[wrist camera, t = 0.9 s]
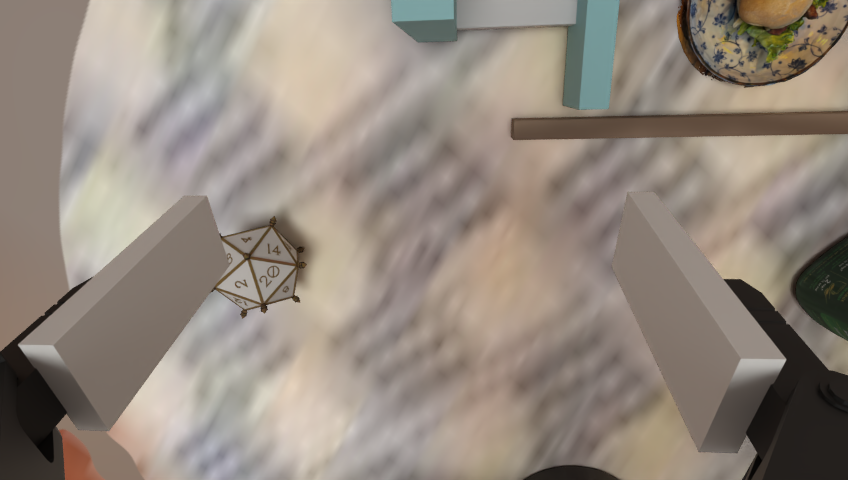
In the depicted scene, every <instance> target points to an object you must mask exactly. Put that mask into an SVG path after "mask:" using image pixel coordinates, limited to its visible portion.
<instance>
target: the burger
mask: <svg viewBox="0 0 848 480" xmlns="http://www.w3.org/2000/svg"><path fill="white" fill-rule="evenodd" d="M682 5H683V6H682ZM682 5H681V6H680V7H681V10H679V11H678V14H677V27H678V34H679V39H680V42H681V45H682V48H683V51H684V53H685V54H686V56H687V58H688V59H689V61H690V62H691V64H692V65H693V66H694V67H695V68H696V69H697V70H698V71H699V70H700V71H699V72H700V73H701V74H702V75H703V73H702V72H705V73H704V74H705V76H707V75H708V76H711V75H712V74H713V76H714V77H713V76H711V77H713V78H715V79H717V80H719V79H720V80H721V79H722V80H721V81H723V80H724V81H727V82H730V83H732V84H738V85H744V86H745V87H754V86H761V85H762V86H765V85H772V84H775V83H778V82H785V81H787V80H790V79H792V78H794V77H796V76H798V75H800V74H802V73H804V72H806V71H807V70H808V69H809V68H811V67H812V66H814V65H815V64H816V63H818V62H819V61H820V60H821V59H822V58H823V57H824V56H825V54H826V53H827V52H828V51H829V50H830V49H831V48H832V47H833V46H834V45H835V44H836V43H837V42H838V41H839V39H840V38H841V36H842V35H843V33H844V32H845V30H846V28H847V26H848V0H682ZM683 7H684V8H683ZM678 8H679V7H678ZM683 12H684V13H683ZM679 14H680V15H679ZM680 24H681V27H680ZM699 67H700V68H699ZM702 67H703V68H702ZM706 69H707V70H706ZM716 77H717V78H716ZM711 80H712V79H711ZM720 80H719V81H720Z"/></svg>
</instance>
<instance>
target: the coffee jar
mask: <svg viewBox="0 0 848 480" xmlns="http://www.w3.org/2000/svg"><path fill="white" fill-rule="evenodd" d="M796 296H797V299H798V301H799V303H800V305H801V306H802V308H803V309H804V310H805V311H806V312H807V313H808V315H809V316H810V317H811V318H813V319H814V320H815V321H816V322H817V323H819V324H820V325H822V326H823V327H825V328H826V329H828V330H830V331H831V332H833V333H835V334H836V335H838V336H840V337H842V338H844V339H845V340H847V341H848V238H846V239H844V240H843V241H841V242H840V243H838V244H837V245H835V246H834V247H833V248H831V249H830V250H829V251H827V252H826V253H825V254H823V255H822V256H821V257H820V258H818V259H817V260H816V261H815V262H814V263H813V264H811V265H810V266H809V267H808V268H807V269H806V270H805V271H804V272H803V273H802V274H801V276H800V277H799V279H798V281H797V285H796Z"/></svg>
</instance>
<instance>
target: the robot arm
mask: <svg viewBox="0 0 848 480" xmlns="http://www.w3.org/2000/svg"><path fill="white" fill-rule="evenodd" d="M229 266H230V265H229V262H228V259H227V256H226V253H225V250H224V247H223V244H222V240H221V237H220V234H219V231H218V228H217V225H216V222H215V219H214V216H213V213H212V210H211V207H210V204H209V201H208V198H207V196H183V197H182V198H181V199H180V200H179V201H178V202H177V203H176V204H175V205H173V206H172V207H171V208H170V209H169V210H168V211H167V212H166V213H164V214H163V215H162V216H161V217H160V218H159V219H158V220H157V221H156V222H154V223H153V224H152V225H151V226H150V227H149V228H148V229H147V230H145V231H144V232H143V233H142V234H141V235H140V236H139V237H138V238H137V239H135V240H134V241H133V242H132V243H131V244H130V245H129V246H128V247H126V248H125V249H124V250H123V251H122V252H121V253H120V254H119V255H118V256H116V257H115V258H114V259H113V260H112V261H111V262H110V263H109V264H107V265H106V266H105V267H104V268H103V269H102V270H101V271H100V272H98V273H97V274H96V275H95V276H94V277H92V278H90V279H88V280H86V281H85V282H83V283H81V284H79V285H78V286H76V287H74V288H72V289H71V290H70V291H69V292H68V293H67V294H66V295H65V296H63V297H62V298H61V299H60V300H59V301H58V302H57V305H53V306H52V307H51V308H50V309H49V310H47V311H46V312H45V315H44V316H41V317H39V319H37V320H36V321H35V322H34V323H33V324H31V325H30V326H29V327H28V328H27V329H26V330H25V331H24V332H22V333H21V334H20V335H19V336H18V337H17V338H15V340H13V341H12V342H11V343H10V344H9V345H8V346H6V347H5V348H4V349H3V350H2V351H1V352H0V480H65V473H64V458H63V443H62V436H61V434H60V432H59V430H58V429H57V427H56V425H57V424H58V423H59V422H60V421H61V419H62V418H63V417H64V416H65V415H66V414H67V415H68V416H69V418H70V419H71V421H72V422H73V423H74V425H75V426H76V428H77V429H78V430H90V431H109V430H110V429H111V428H112V426H113V425H114V424H115V422H116V421H117V420H118V418H119V417H120V415H121V414H122V413H123V411H124V410H125V409H126V407H127V406H128V404H129V403H130V402H131V400H132V399H133V398H134V396H135V395H136V393H137V392H138V391H139V389H140V388H141V387H142V385H143V384H144V382H145V381H146V380H147V378H148V377H149V376H150V374H151V373H152V371H153V370H154V369H155V367H156V366H157V365H158V363H159V362H160V361H161V359H162V358H163V356H164V355H165V354H166V352H167V351H168V350H169V348H170V347H171V345H172V344H173V343H174V341H175V340H176V339H177V337H178V336H179V334H180V333H181V332H182V330H183V329H184V328H185V326H186V325H187V323H188V322H189V321H190V319H191V318H192V317H193V315H194V314H195V313H196V311H197V310H198V308H199V307H200V306H201V304H202V303H203V302H204V300H205V299H206V297H207V296H208V295H209V293H210V292H211V291H212V289H213V288H214V286H215V285H216V284H217V282H218V281H219V280H220V278H221V277H222V275H223V274H224V273H225V271H226V270H227V269H228V267H229ZM612 269H613V271H614V273H615V275H616V277H617V280H618V282H619V284H620V286H621V288H622V290H623V292H624V294H625V297H626V299H627V301H628V303H629V305H630V307H631V309H632V311H633V314H634V316H635V318H636V320H637V322H638V324H639V326H640V328H641V331H642V333H643V335H644V337H645V339H646V341H647V343H648V345H649V348H650V350H651V352H652V354H653V356H654V358H655V360H656V362H657V365H658V367H659V369H660V371H661V373H662V375H663V377H664V379H665V382H666V384H667V386H668V388H669V390H670V392H671V394H672V396H673V399H674V401H675V403H676V405H677V407H678V409H679V411H680V413H681V416H682V418H683V420H684V422H685V424H686V426H687V428H688V430H689V433H690V435H691V437H692V439H693V441H694V443H695V445H696V447H697V450H698V452H717V453H737V452H738V450H739V449H740V447H741V445H742V443H743V441H744V439H745V437H746V435H747V436H748V438H749V439H750V441H751V443H752V444H753V446H754V448H755V450H756V451H757V454H756V456H755V458H754V460H753V462H752V463H751V465H750V467H749V469H748V470H747V472H746V474H745V476H744V477H743V479H742V480H848V375H844V374H841V373H838V372H835V371H829V370H828V369H827V368H826V367H825V365H824V364H823V363H822V362H821V361H820V360H819V359H818V357H817V356H816V355H815V354H814V353H813V352H812V350H811V349H810V348H809V347H808V346H807V345H806V344H805V342H804V341H803V340H802V339H801V338H800V337H799V336H798V334H797V333H796V332H795V331H794V330H793V329H792V327H791V326H790V325H789V324H786V321H785V319H784V318H783V317H782V316H781V315H780V314H779V313H778V311H775V308H774V307H773V306H772V304H771V303H770V302H769V301H768V300H767V299H766V298H765V296H764V295H763V294H762V293H761V292H759V291H758V290H756V289H755V288H753V287H752V286H750V285H749V284H747V283H746V282H744V281H742V280H741V279H723V278H722V277H721V276H720V275H719V273H718V272H717V271H716V269H715V268H714V267H713V266H712V264H711V263H710V262H709V261H708V259H707V258H706V257H705V256H704V254H703V253H702V252H701V250H700V249H699V248H698V247H697V245H696V244H695V243H694V242H693V240H692V239H691V238H690V237H689V235H688V234H687V233H686V232H685V230H684V229H683V228H682V226H681V225H680V224H679V223H678V221H677V220H676V219H675V218H674V216H673V215H672V214H671V213H670V211H669V210H668V209H667V207H666V206H665V205H664V204H663V202H662V201H661V200H660V199H659V197H658V196H657V195H656V194H655V192H627V197H626V202H625V207H624V211H623V216H622V221H621V225H620V230H619V235H618V240H617V244H616V249H615V254H614V258H613V263H612ZM526 480H618V479H616V478H615V477H613V476H611V475H609V474H607V473H604V472H602V471H598V470H595V469H591V468H585V467H558V468H553V469H548V470H545V471H542V472H539V473H537V474H534V475H532V476H531V477H529V478H527V479H526Z"/></svg>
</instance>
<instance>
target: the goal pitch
mask: <svg viewBox="0 0 848 480" xmlns="http://www.w3.org/2000/svg"><path fill="white" fill-rule="evenodd" d="M810 134H848V111H833V112H788V113H743V114H697V115H652V116H606V117H561V118H515V119H512V126H511V137H512V139H513V140H535V139H590V138H645V137H700V136H755V135H810Z"/></svg>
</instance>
